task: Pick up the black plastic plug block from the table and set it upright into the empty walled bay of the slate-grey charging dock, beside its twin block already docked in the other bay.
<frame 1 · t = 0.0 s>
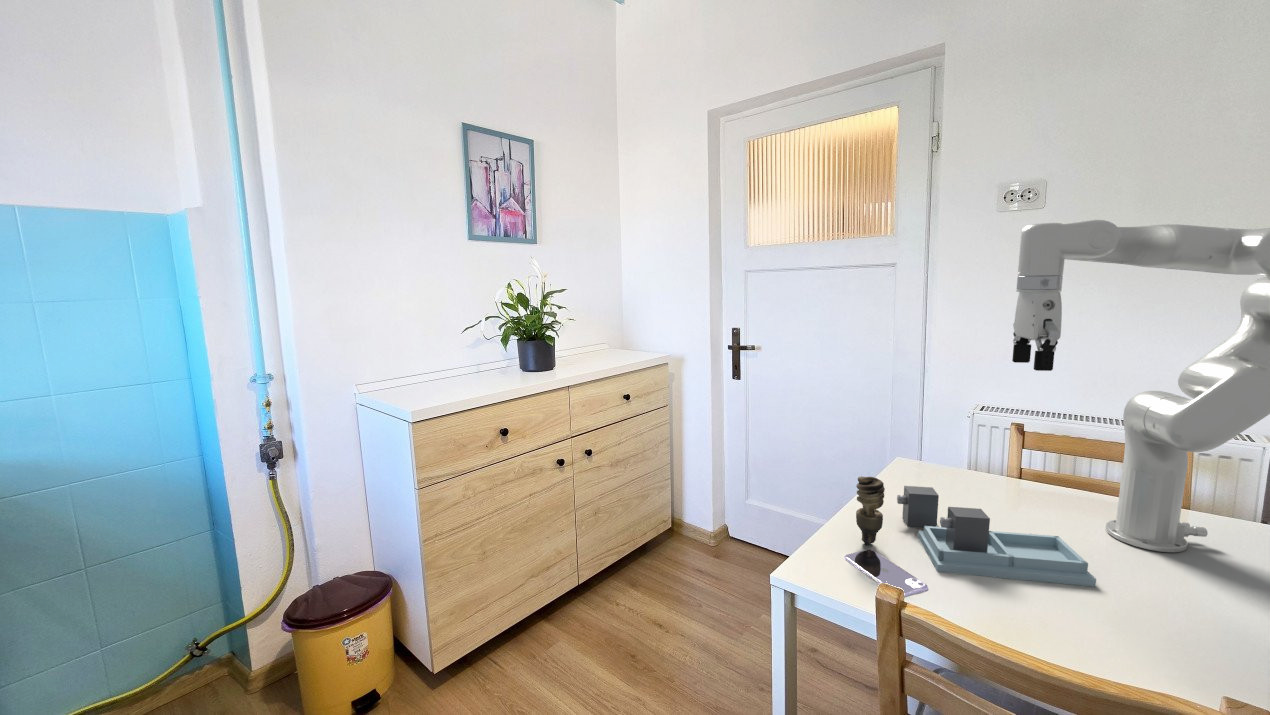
hand: (1031, 366, 114), 37 cm above the table, tool pointing down, fingers open, 9 cm apart
mobile phone: (883, 574, 105), on the table
charging dock: (998, 559, 108), on the table
light bulb: (867, 544, 115), on the table
docked twin block: (965, 556, 109), resting on charging dock
plug block: (919, 523, 124), on the table
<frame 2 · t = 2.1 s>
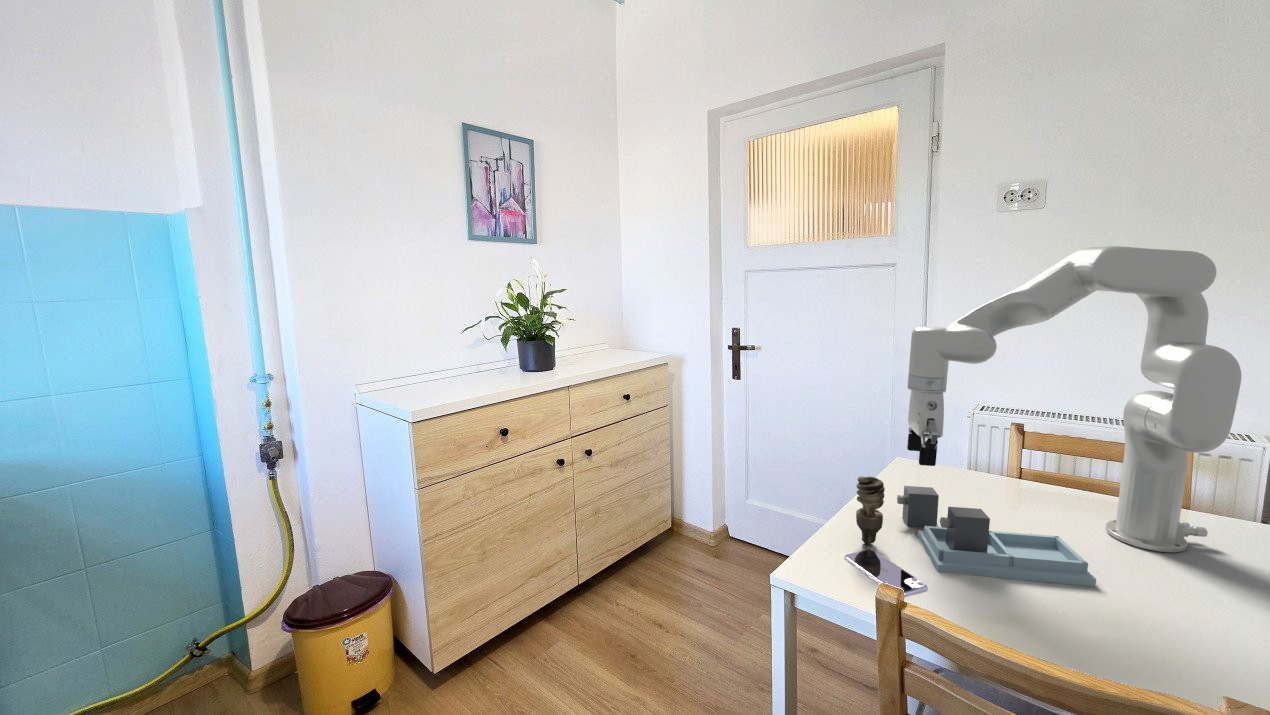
hand: (920, 457, 121), 16 cm above the table, tool pointing down, fingers open, 9 cm apart
nothing on the table moved.
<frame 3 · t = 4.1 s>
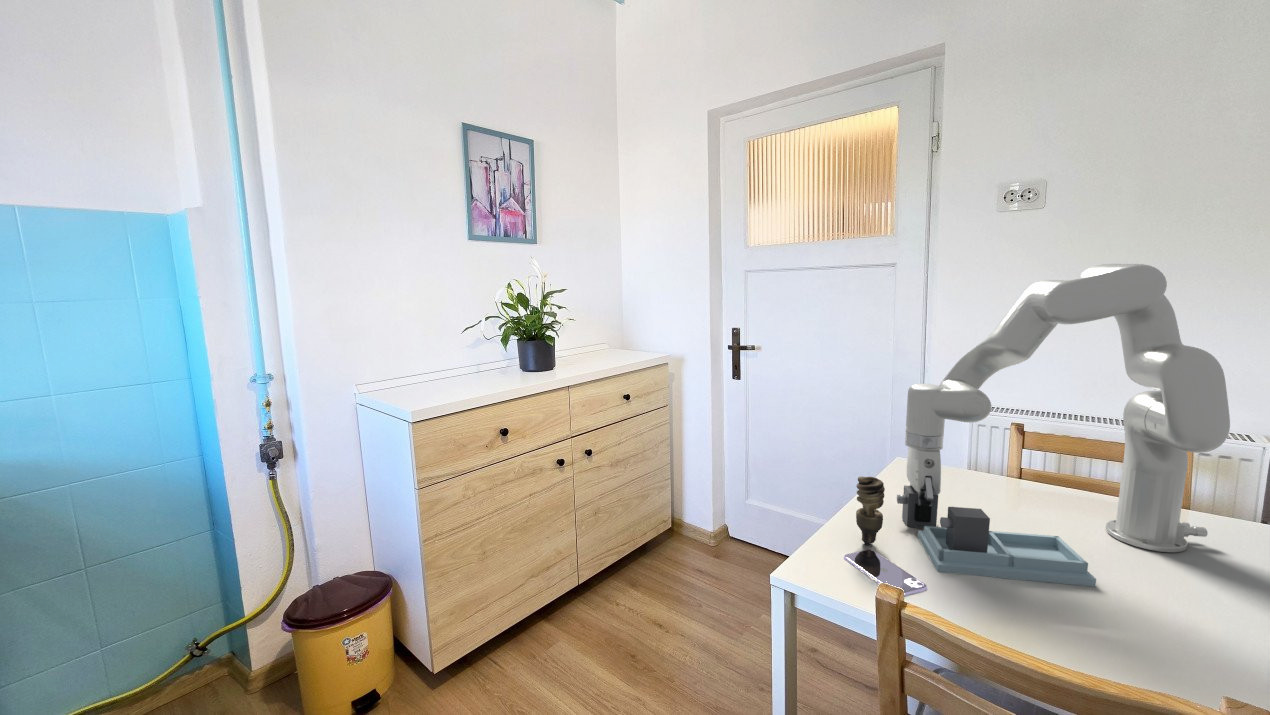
hand: (919, 515, 123), 2 cm above the table, tool pointing down, fingers closed on plug block, 4 cm apart
plug block: (918, 523, 124), on the table, touching gripper
everything else where it was.
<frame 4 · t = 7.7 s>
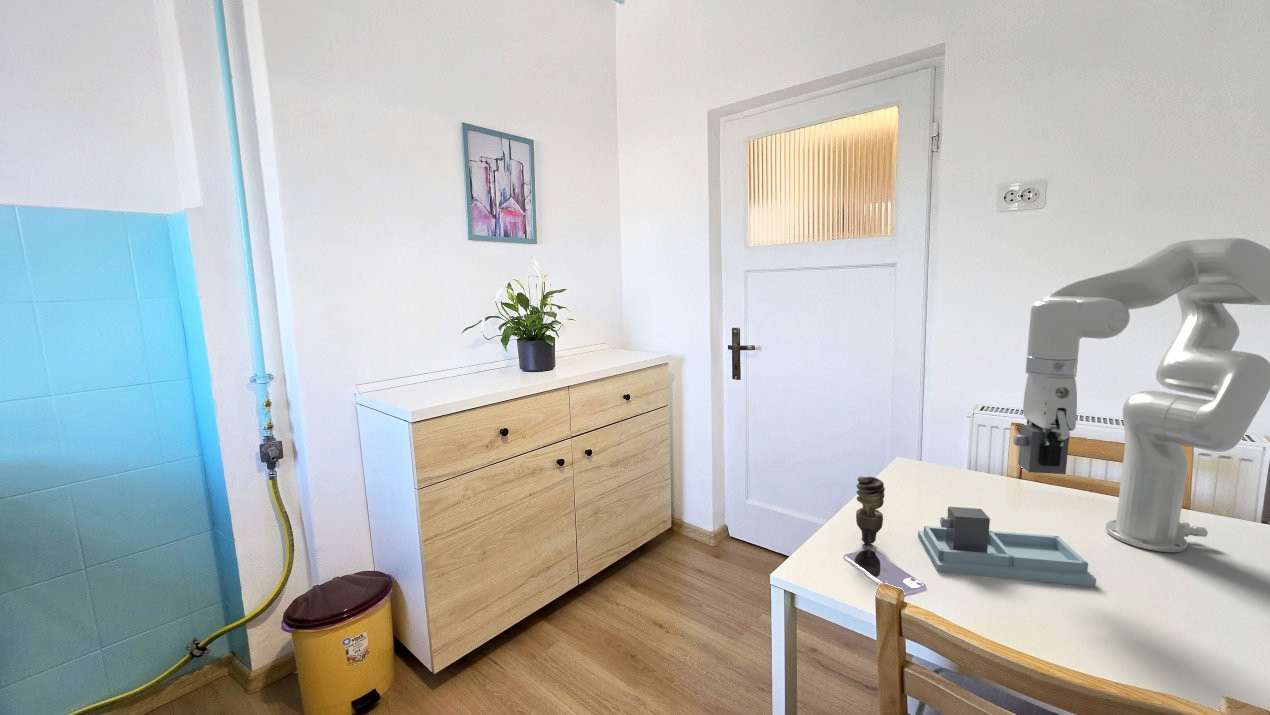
hand: (1042, 459, 103), 21 cm above the table, tool pointing down, fingers closed on plug block, 4 cm apart
plug block: (1041, 468, 104), point 19 cm above the table, touching gripper
everything else where it was.
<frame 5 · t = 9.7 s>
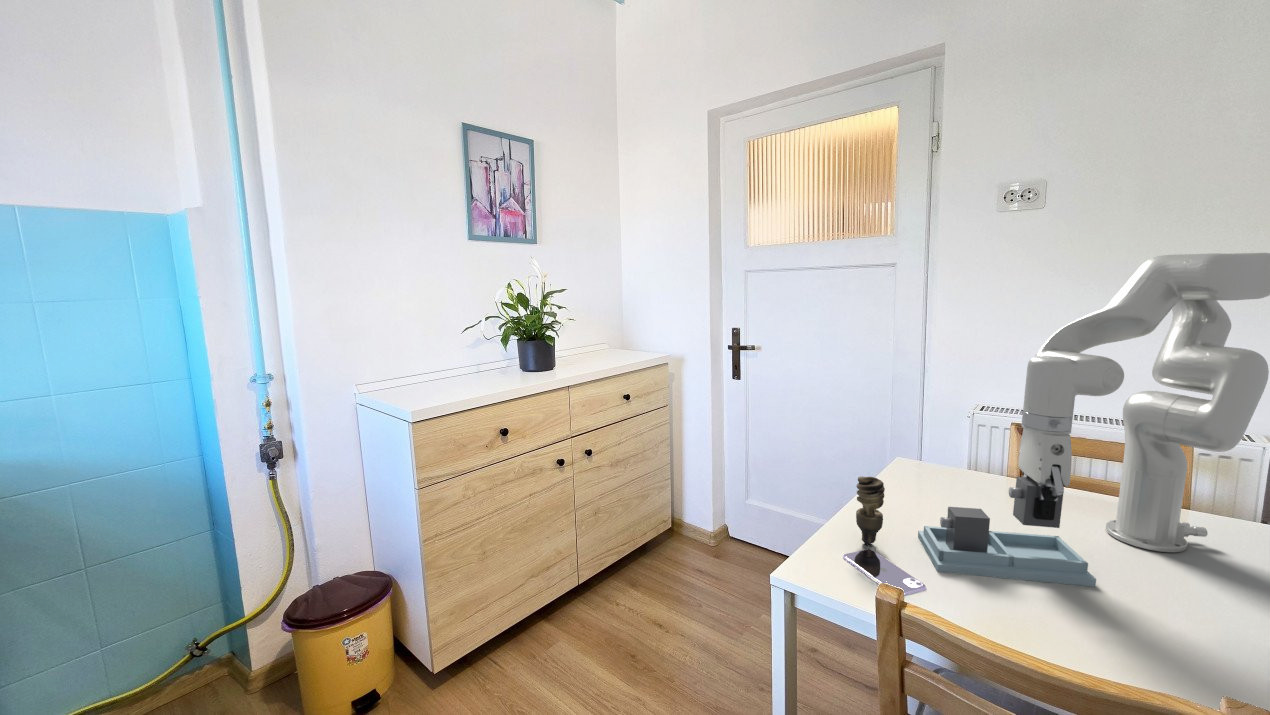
hand: (1036, 512, 105), 11 cm above the table, tool pointing down, fingers closed on plug block, 4 cm apart
plug block: (1035, 521, 105), point 9 cm above the table, touching gripper
everything else where it was.
when the fingers open (5 cm above the table, at t = 11.6 s): plug block drops 1 cm, resting on charging dock.
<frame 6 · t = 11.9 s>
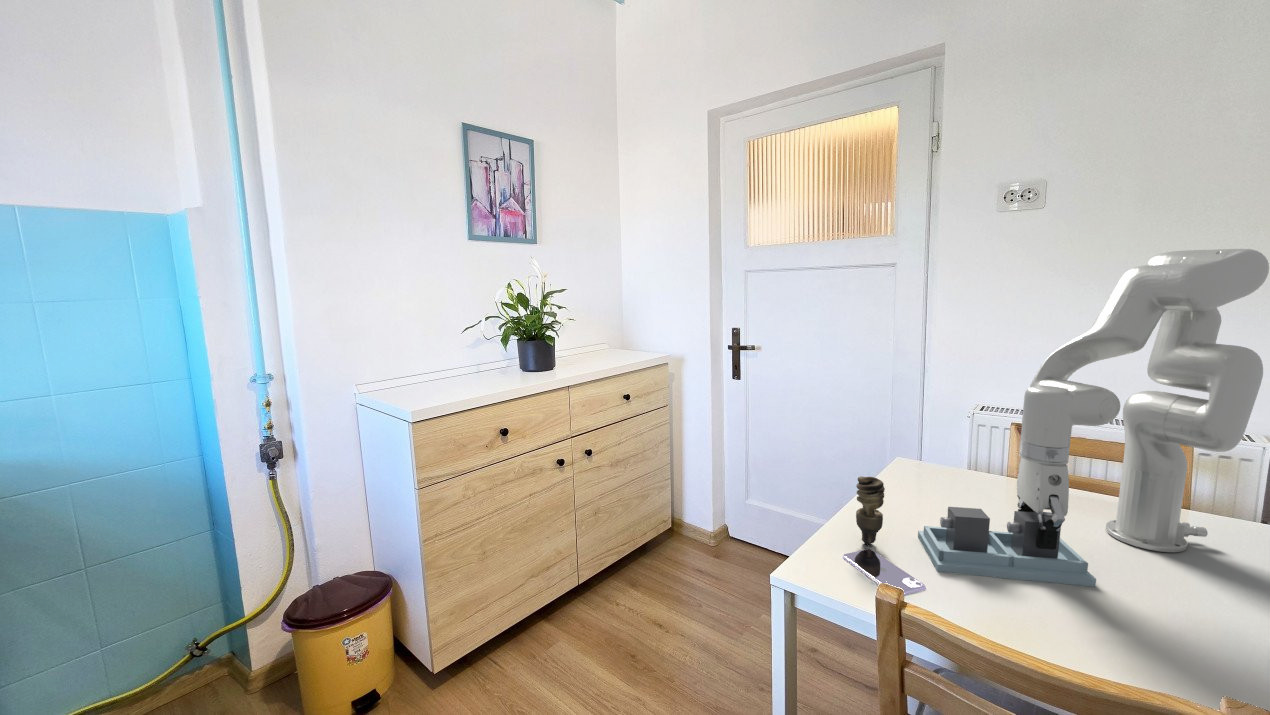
hand: (1035, 537, 106), 5 cm above the table, tool pointing down, fingers open, 7 cm apart
plug block: (1033, 555, 106), point 1 cm above the table, touching charging dock
everything else where it was.
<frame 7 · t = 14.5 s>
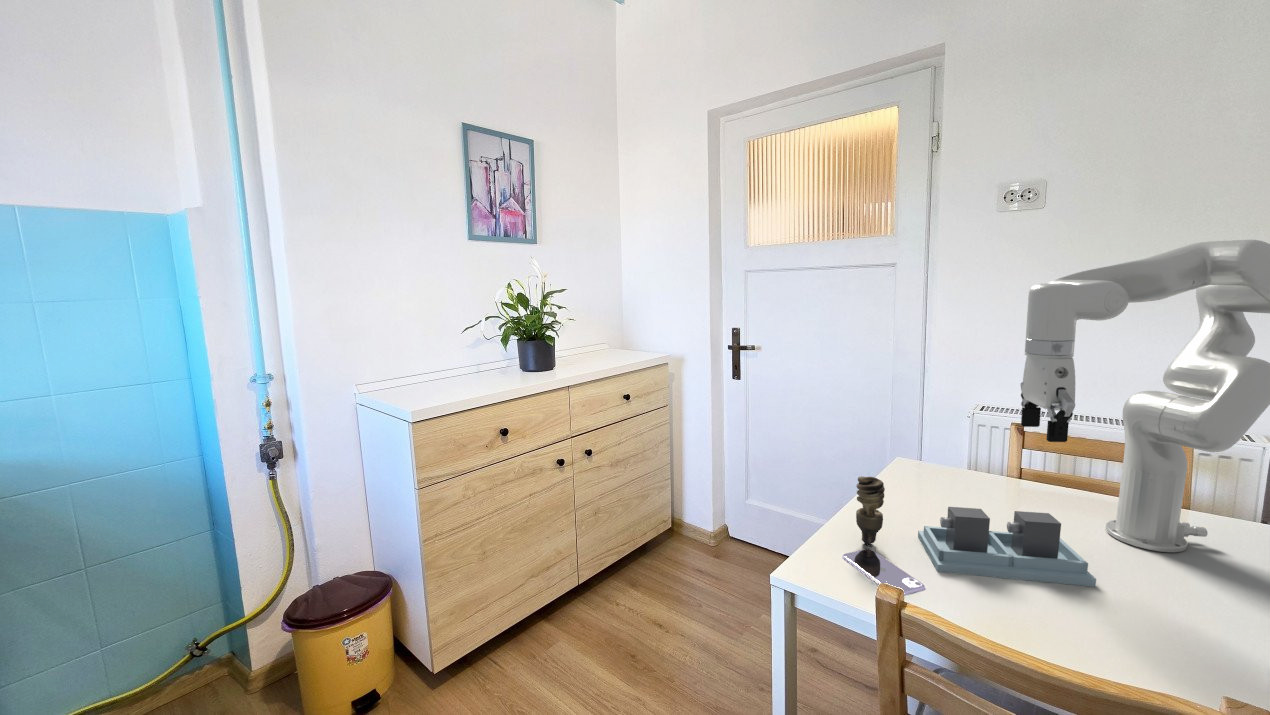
hand: (1042, 433, 107), 25 cm above the table, tool pointing down, fingers open, 9 cm apart
nothing on the table moved.
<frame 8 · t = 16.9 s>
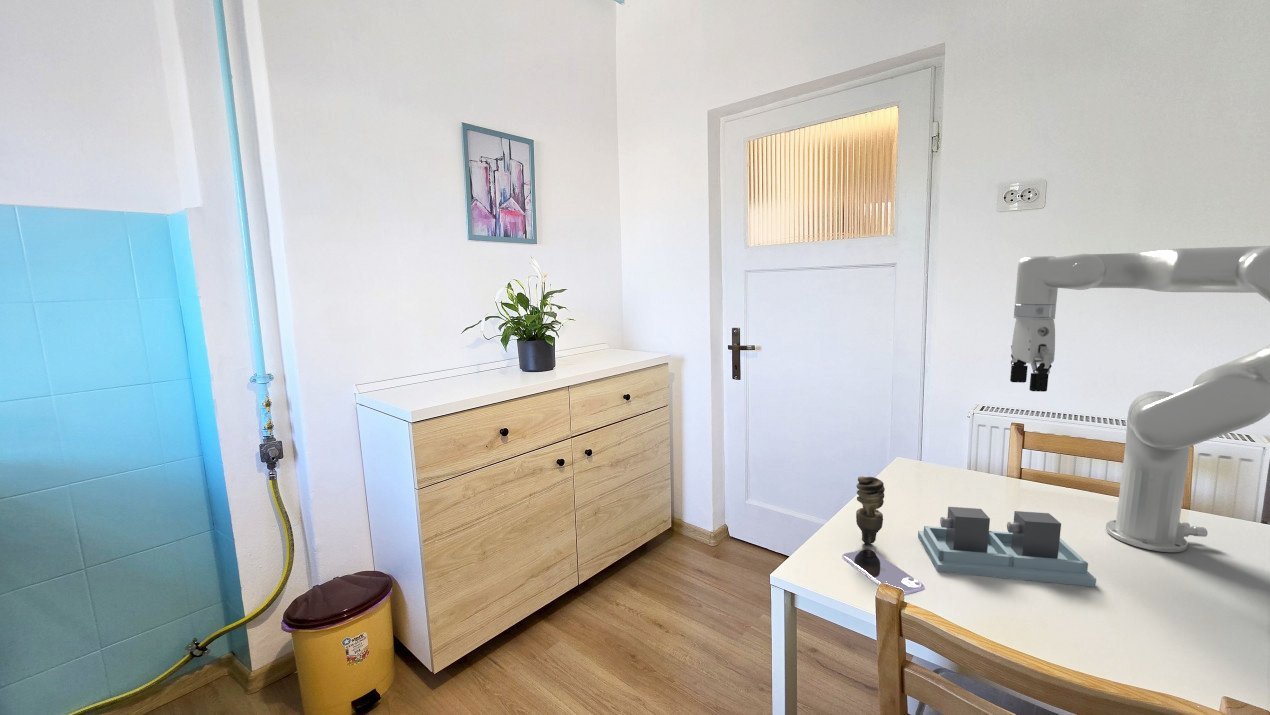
hand: (1027, 386, 124), 30 cm above the table, tool pointing down, fingers open, 9 cm apart
nothing on the table moved.
at the end: plug block inside the target area on the charging dock (0.1 cm from its centre), point 1.5 cm above the charging dock's base; plug block tilted 0°; the gripper is holding nothing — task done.
